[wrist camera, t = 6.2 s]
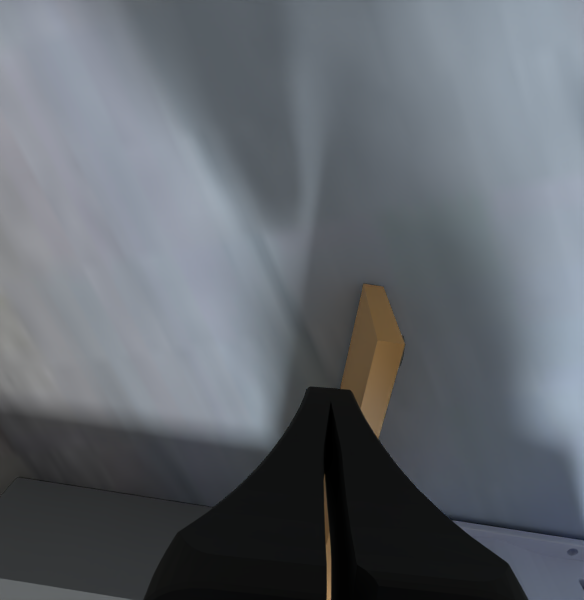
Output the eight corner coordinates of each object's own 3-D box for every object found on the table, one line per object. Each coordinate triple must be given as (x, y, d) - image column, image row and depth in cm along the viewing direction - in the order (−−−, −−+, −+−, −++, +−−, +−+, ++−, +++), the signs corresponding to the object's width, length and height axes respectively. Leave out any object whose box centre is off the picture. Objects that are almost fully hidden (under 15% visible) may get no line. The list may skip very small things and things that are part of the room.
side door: (337, 522, 22) (340, 628, 17) (309, 517, 22) (305, 621, 17) (397, 287, 16) (425, 348, 12) (361, 281, 16) (375, 340, 12)
